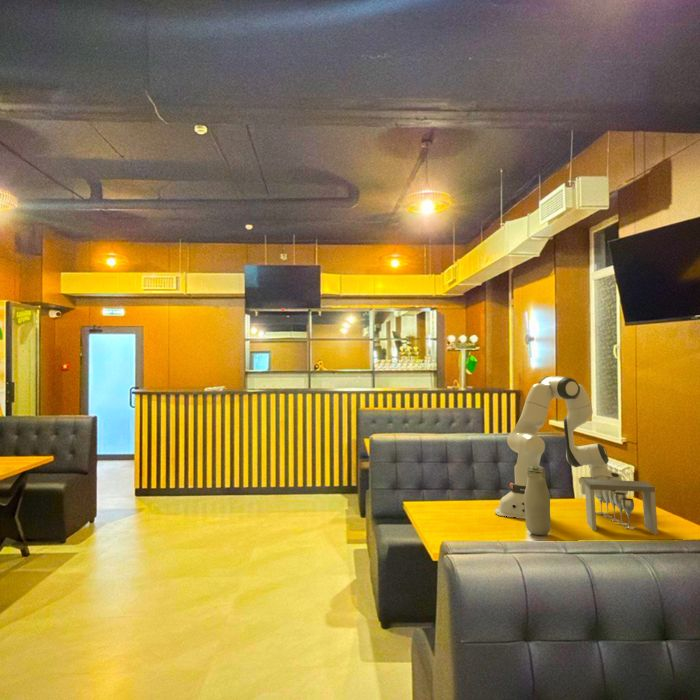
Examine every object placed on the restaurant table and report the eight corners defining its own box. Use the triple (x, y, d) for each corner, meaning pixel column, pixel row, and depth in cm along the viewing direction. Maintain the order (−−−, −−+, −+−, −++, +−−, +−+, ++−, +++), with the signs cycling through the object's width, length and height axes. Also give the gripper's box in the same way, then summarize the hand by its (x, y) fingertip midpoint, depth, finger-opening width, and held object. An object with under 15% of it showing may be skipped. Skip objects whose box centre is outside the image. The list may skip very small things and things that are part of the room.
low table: (592, 530, 196) (589, 484, 197) (587, 522, 207) (584, 479, 209) (657, 534, 189) (654, 487, 190) (648, 526, 200) (645, 481, 202)
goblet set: (639, 529, 196) (637, 497, 197) (625, 529, 196) (623, 497, 197) (604, 511, 224) (603, 483, 225) (592, 511, 224) (591, 483, 225)
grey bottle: (526, 537, 189) (522, 467, 191) (526, 529, 198) (523, 463, 200) (552, 539, 185) (548, 468, 187) (551, 531, 195) (547, 464, 197)
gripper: (578, 473, 233) (583, 497, 223) (624, 474, 227) (631, 499, 217) (577, 480, 237) (582, 504, 226) (622, 482, 231) (629, 507, 220)
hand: (606, 502), depth 221 cm, fingers closed
